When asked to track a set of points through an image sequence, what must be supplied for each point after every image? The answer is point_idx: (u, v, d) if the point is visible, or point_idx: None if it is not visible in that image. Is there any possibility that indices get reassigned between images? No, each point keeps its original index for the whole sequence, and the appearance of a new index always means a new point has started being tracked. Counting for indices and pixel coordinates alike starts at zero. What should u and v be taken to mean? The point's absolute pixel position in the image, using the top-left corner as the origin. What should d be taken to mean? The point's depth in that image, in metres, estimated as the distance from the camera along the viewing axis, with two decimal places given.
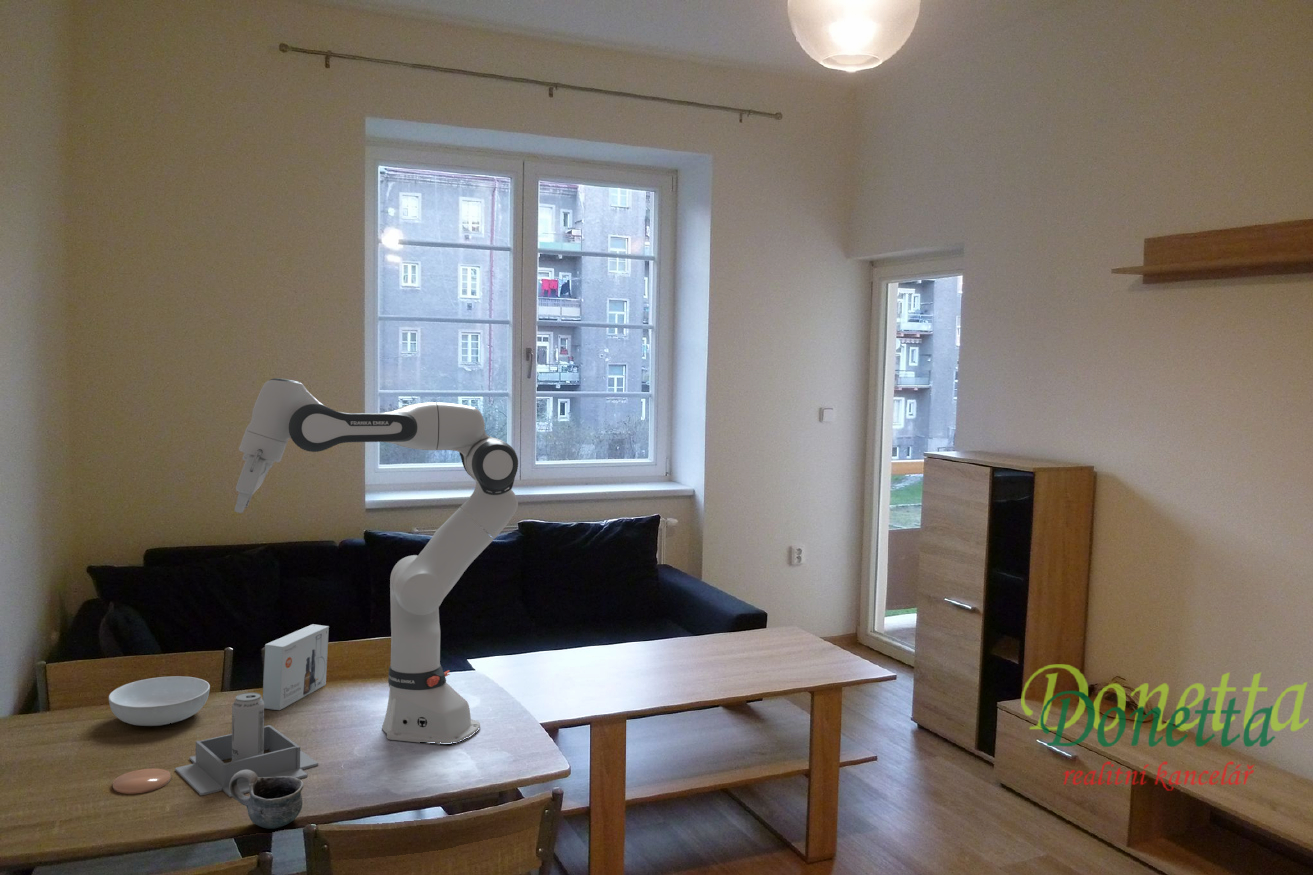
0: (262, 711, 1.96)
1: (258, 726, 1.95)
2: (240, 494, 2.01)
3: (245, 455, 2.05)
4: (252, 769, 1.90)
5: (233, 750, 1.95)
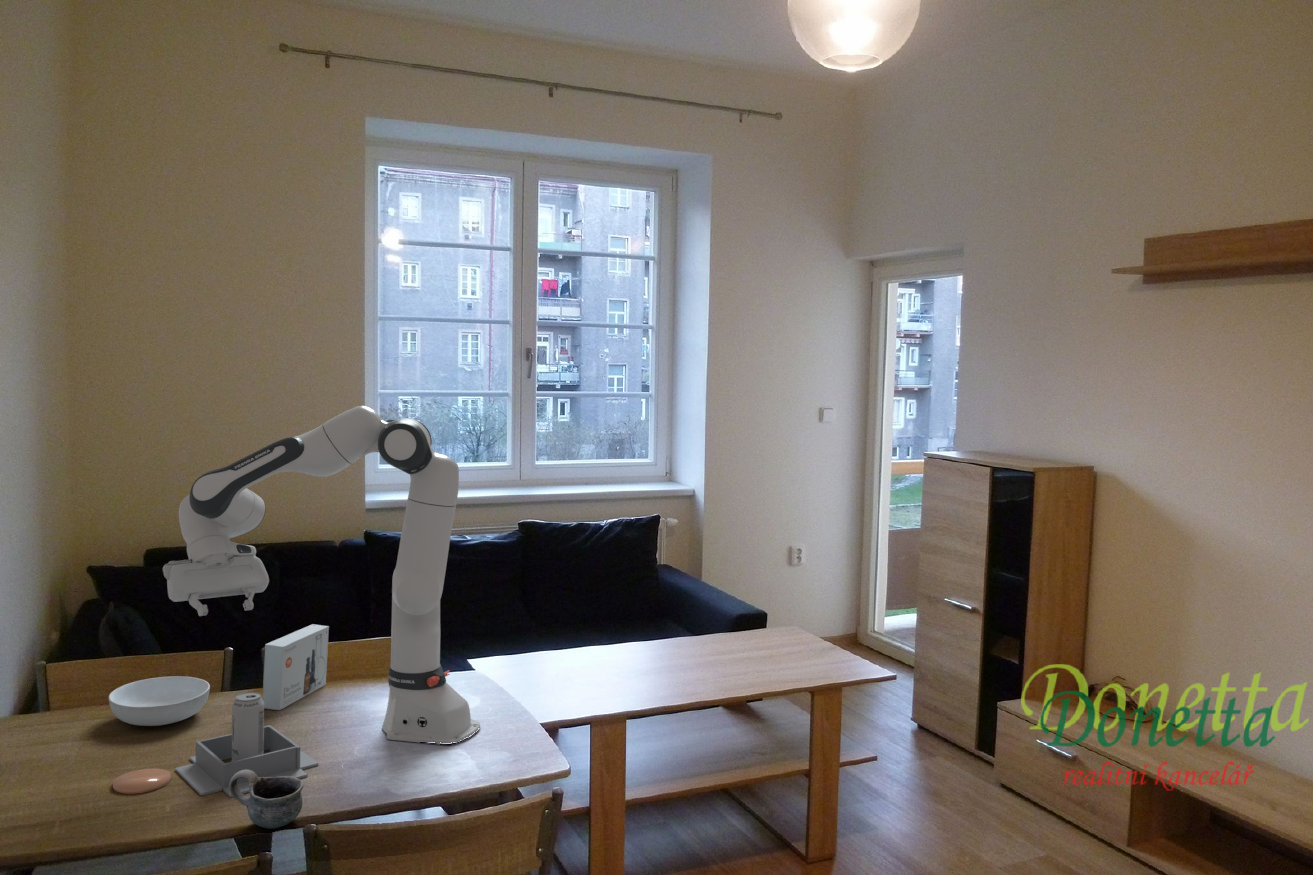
0: (262, 711, 1.96)
1: (258, 726, 1.95)
2: (189, 601, 2.02)
3: None
4: (252, 769, 1.90)
5: (233, 750, 1.95)
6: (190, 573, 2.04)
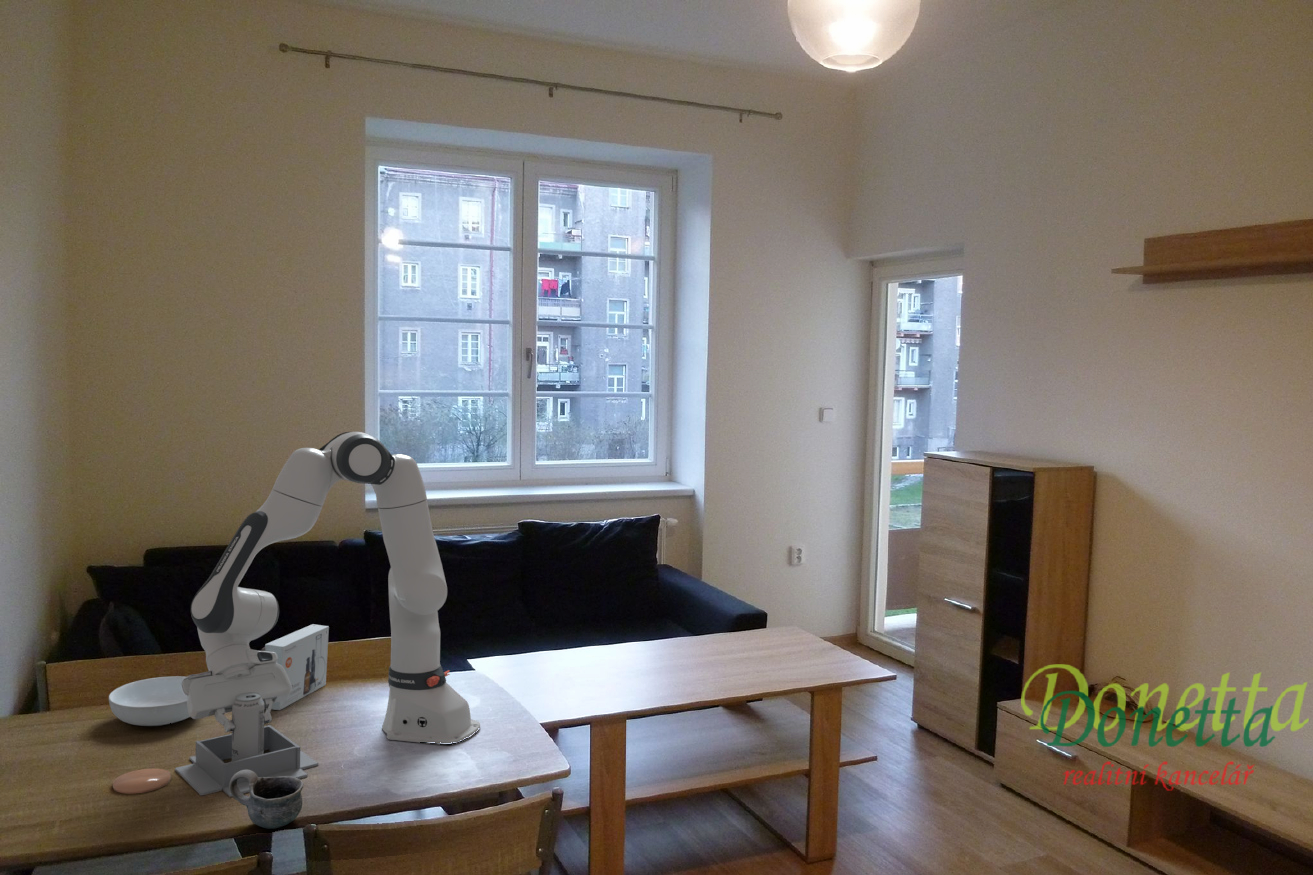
0: (262, 711, 1.96)
1: (258, 726, 1.95)
2: (215, 716, 1.95)
3: None
4: (252, 769, 1.90)
5: (233, 750, 1.95)
6: (210, 687, 1.96)
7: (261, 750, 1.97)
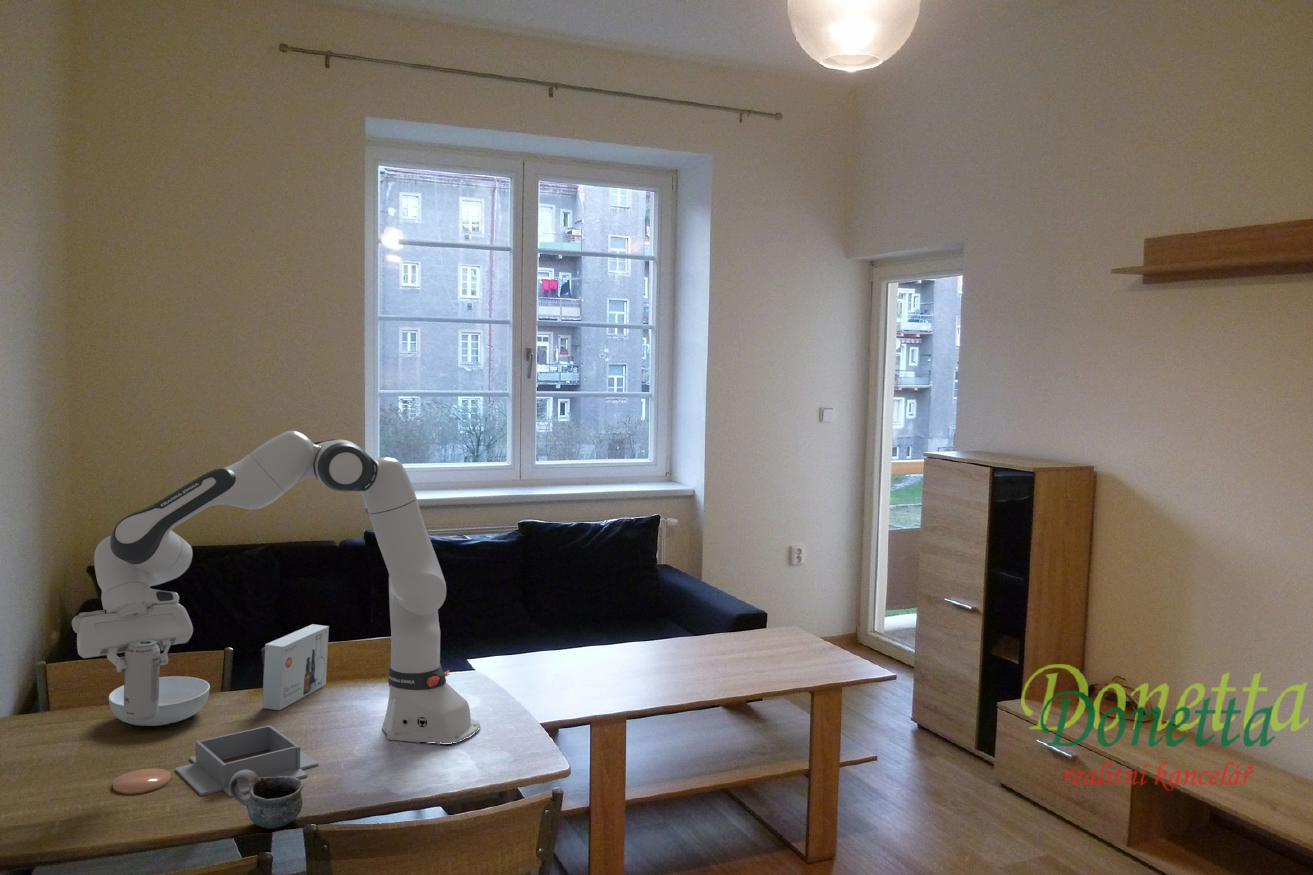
0: (156, 658, 1.87)
1: (151, 674, 1.86)
2: (107, 656, 1.85)
3: None
4: (252, 769, 1.90)
5: (124, 698, 1.85)
6: (102, 625, 1.86)
7: (155, 699, 1.87)
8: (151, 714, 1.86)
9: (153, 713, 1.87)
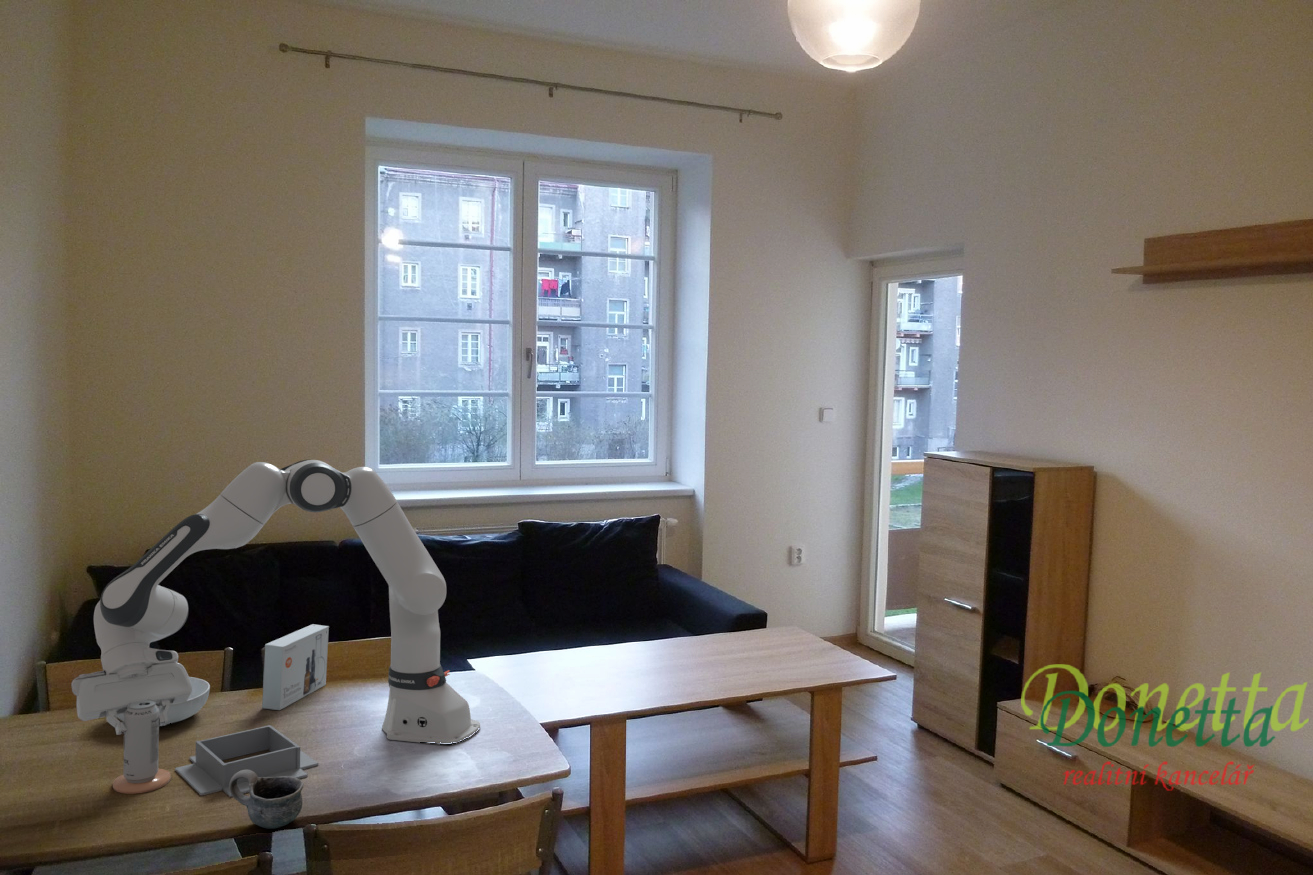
0: (156, 720, 1.87)
1: (150, 736, 1.86)
2: (106, 718, 1.86)
3: None
4: (252, 769, 1.90)
5: (124, 759, 1.86)
6: (102, 688, 1.87)
7: (154, 760, 1.88)
8: (151, 775, 1.87)
9: (153, 774, 1.88)
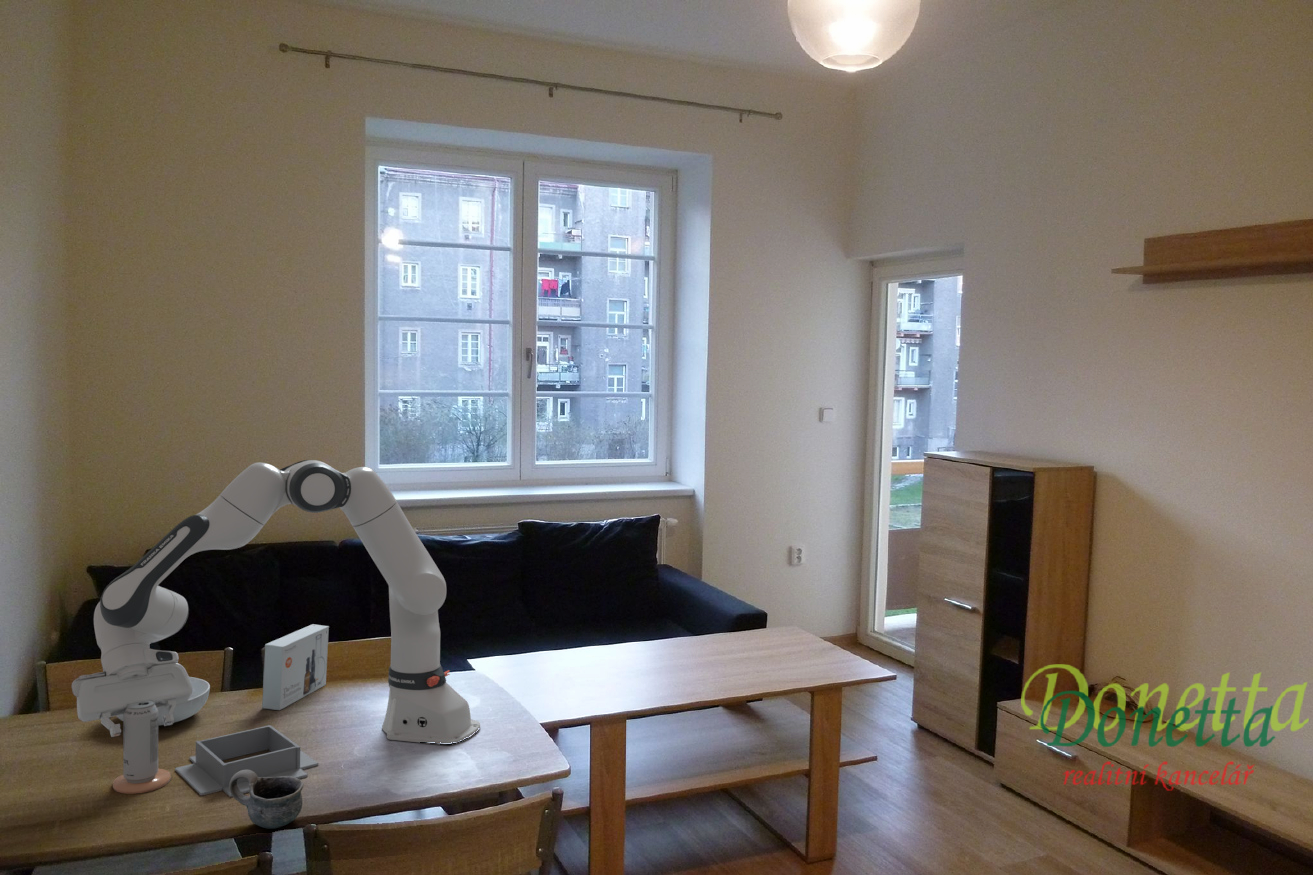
0: (155, 719, 1.87)
1: (150, 735, 1.86)
2: (101, 720, 1.85)
3: None
4: (252, 769, 1.90)
5: (124, 760, 1.86)
6: (102, 688, 1.87)
7: (154, 760, 1.88)
8: (151, 775, 1.87)
9: (153, 774, 1.88)
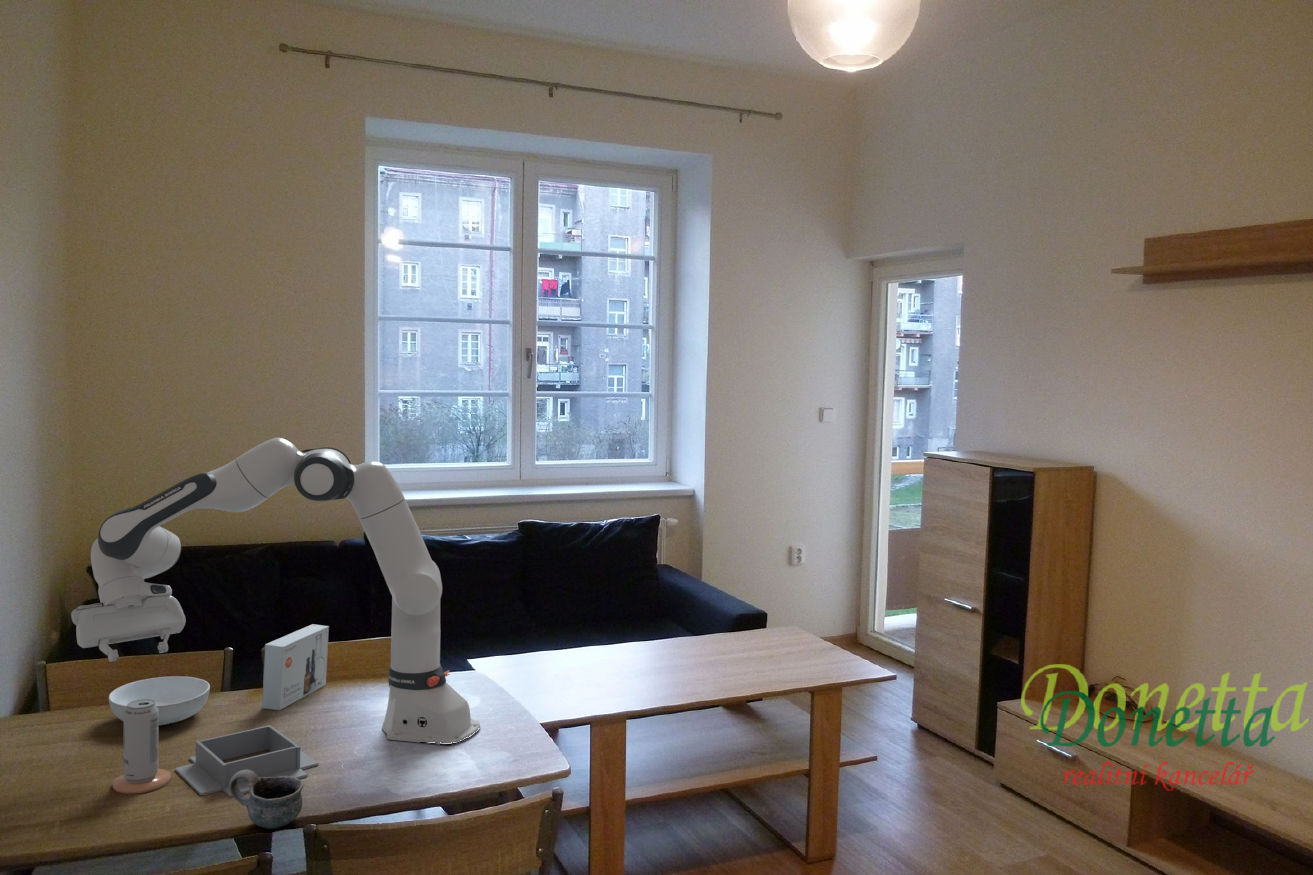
0: (155, 719, 1.87)
1: (150, 735, 1.86)
2: (99, 647, 1.96)
3: None
4: (252, 769, 1.90)
5: (124, 759, 1.86)
6: (100, 617, 1.98)
7: (154, 760, 1.88)
8: (151, 775, 1.87)
9: (153, 774, 1.88)
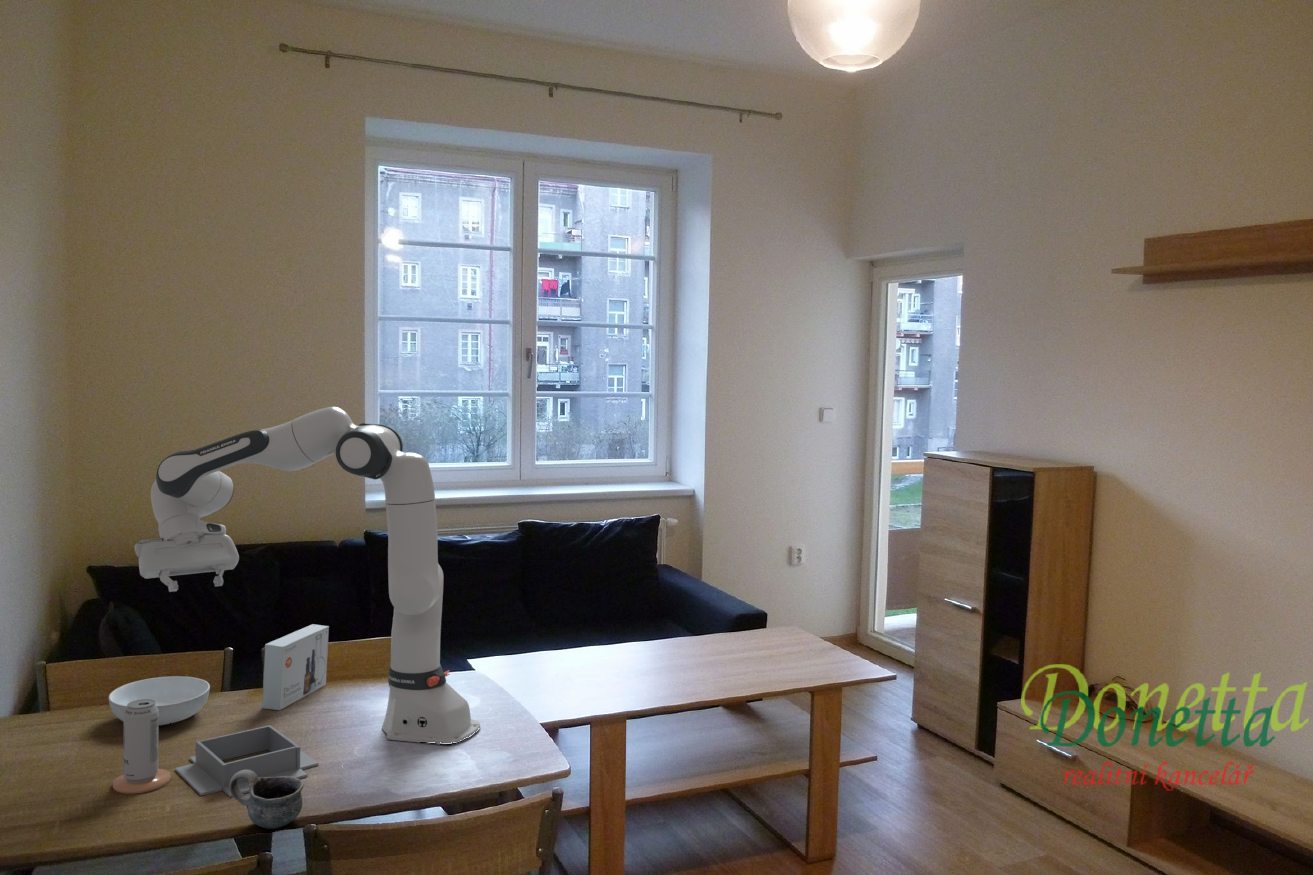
0: (155, 719, 1.88)
1: (150, 735, 1.86)
2: (160, 578, 2.09)
3: None
4: (252, 769, 1.90)
5: (124, 759, 1.86)
6: (161, 551, 2.10)
7: (154, 760, 1.88)
8: (151, 775, 1.87)
9: (153, 774, 1.88)
